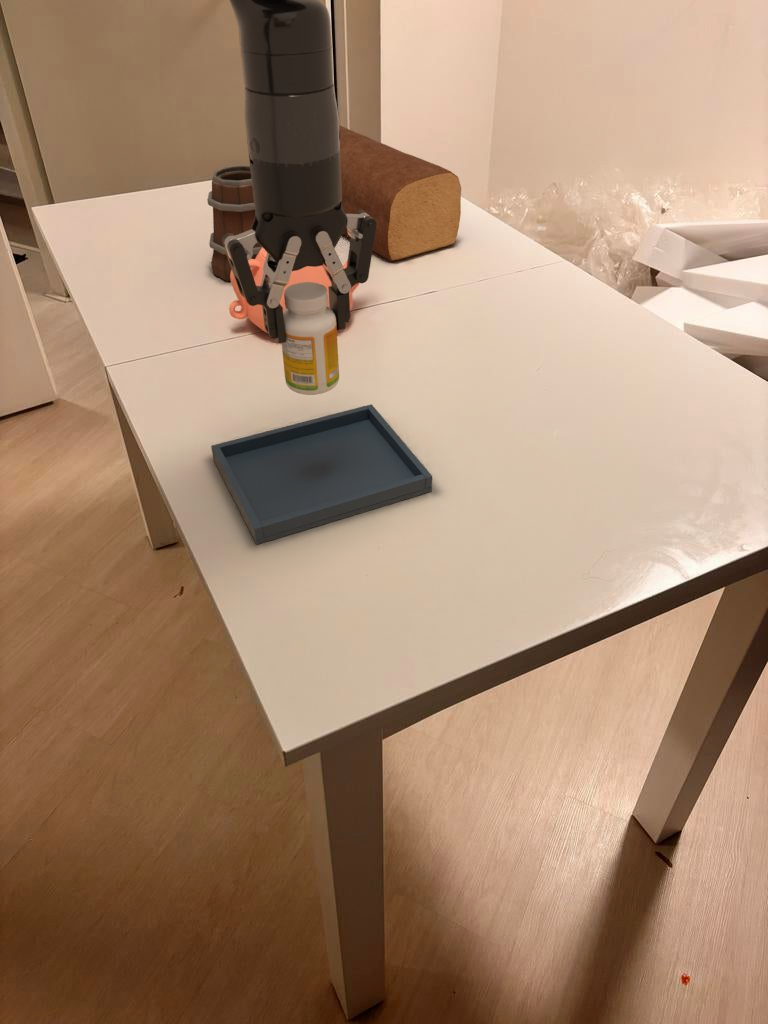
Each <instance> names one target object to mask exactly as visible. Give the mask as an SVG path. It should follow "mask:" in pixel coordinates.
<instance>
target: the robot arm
mask: <svg viewBox="0 0 768 1024" xmlns="http://www.w3.org/2000/svg"><path fill="white" fill-rule="evenodd" d="M229 3H230V6H231V8H232V11H233V14H234V16H235V21H236V23H237V27H238V36H239V37H238V38H239V39H238V40H239V49H240V58H241V67H242V78H243V85H244V121H245V133H246V143H247V151H248V161H249V166H250V170H251V179H252V188H253V197H254V206H255V219H254V222H253V225H252V229H251V230H249V231H246V232H243V233H241V234H238V235H235V236H234V235H233V234H231V233H227V234H225V235H224V236H223V238H222V243H223V246H224V249H225V251H226V254H227V257H228V260H229V263H230V266H231V269H232V272H233V275H234V277H235V280H236V283H237V286H238V289H239V292H240V293H241V295H242V296H243V297H244V298H245V299H246V301H247V303H248V304H249V305H251V306H255V305H257V304H258V305H262V309H263V317H264V326H265V330H266V331H267V333H266V334H268V336H269V337H270V338H271V339H272V340H274V341H275V343H276V344H278V345H279V344H282V343H284V342H286V338H285V327H284V317H283V307H282V306H281V305H280V304H279V303H280V300H281V297H282V293H283V290H284V287H285V286H286V285H287V284H288V282H289V278H290V275H291V272H292V271H296V270H300V269H302V268H304V267H306V266H312V267H317V266H322V267H323V268H324V270H325V272H326V274H327V276H328V278H329V280H330V282H331V284H332V286H329V287H328V289H329V306H330V309H331V310H332V311H333V312H334V314H335V316H336V325H337V331H341V330H345V329H346V324H347V323H349V322H350V319H351V311H350V299H349V292H350V289H351V288H352V287H353V286H354V285H356V284H357V283H359V284H364V283H366V282H367V281H368V280H369V275H370V269H371V263H372V258H373V257H372V256H373V245H374V238H375V232H376V226H377V223H376V221H375V220H374V219H373V218H372V217H370V216H369V215H368V214H367V213H365V212H364V211H363V210H358V211H357V212H356V213H355V214H345V212H344V210H343V208H342V204H341V203H342V186H341V162H340V140H341V133H340V129H339V125H340V121H339V120H340V119H339V111H338V104H337V97H336V92H335V91H336V90H335V83H334V82H335V79H334V77H335V76H334V54H333V53H334V52H333V36H332V34H333V33H332V23H331V17H330V12H329V9H328V7H327V6H326V4H325V3H324V2H323V1H322V0H229ZM346 227H347V232H348V235H349V236H350V237H351V239H349V240H350V241H349V248H348V255H347V260H348V261H347V260H346V262H347V268H345V269H344V267H343V266H344V264H343V263H342V261H341V259H340V257H339V255H338V253H337V250H336V247H337V246H338V243H339V241H340V239H341V238H342V236H343V233H344V231H345V229H346ZM256 243H259V244H260V245H261V246H262V247H263V248H264V250H265V251H266V252H267V255H266V259H265V262H264V266H263V271H264V274H263V278H262V281H261V285H260V286H256V284H255V281H254V278H253V275H252V272H251V269H250V265H249V262H248V260H250V259H251V258H252V256H253V247H254V245H255V244H256Z"/></svg>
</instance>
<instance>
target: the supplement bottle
mask: <svg viewBox="0 0 768 1024" xmlns="http://www.w3.org/2000/svg"><path fill="white" fill-rule="evenodd" d="M284 299H285V306H286V308H287V309H285V310H284V311H283V317H284V327H285V338H286V342H284V343H281V350H282V351H281V352H282V361H283V370H284V371H283V373H284V381H285V384H286V386H287V388H288V389H289V390H291V391H292V392H294V393H297V394H299V395H306V396H318V395H321V394H325V393H328V392H329V391H331V390H333V389H334V388H336V386H337V385H338V384H339V382H340V366H339V365H340V363H339V350H338V349H339V348H338V347H339V346H338V330H337V325H336V316H335V314H334V312H333V311H332V310H331V309H330V308H329V307H327V305H328V295H327V289H326V287H325V286H323V285H321V284H318V283H313V282H303V283H297V284H293V285H291V286H289V287H288V288H286V289H285V291H284Z"/></svg>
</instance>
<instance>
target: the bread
mask: <svg viewBox="0 0 768 1024" xmlns="http://www.w3.org/2000/svg"><path fill="white" fill-rule="evenodd" d="M339 129H340V133H341V140H340V162H341V186H342V203H341V204H342V208H343V210H344V212H345V214H355V213H356V212H357V211H358V210H363V211H364V212H365V213H367V214H368V215H369V216H370V217H372V218H373V219H374V220H375V221H376V223H377V226H376V232H375V238H374V245H373V251H372V253H375V254H377V255H379V256H381V257H382V258H384V259H386V260H387V261H390V262H393V261H401V260H404V259H406V258H407V259H408V258H411V257H414V256H418V255H421V254H424V253H428V252H431V251H432V252H433V251H435V250H438V249H442V248H446V247H449V246H451V245H454V244H456V241H457V237H458V233H459V228H460V223H461V213H462V211H461V209H462V208H461V207H462V204H461V203H462V202H461V201H462V200H461V199H462V186H461V181H460V178H459V176H457V175H456V174H455V173H453V172H452V171H451V170H448V169H446V168H445V167H443V166H441V165H438V164H436V163H433V162H430V161H427V160H425V159H423V158H420V157H418V156H415V155H412V154H409V153H406V152H403V151H401V150H398V149H397V148H394V147H392V146H390V145H387V144H385V143H382V142H380V141H377V140H374V139H372V138H370V137H369V136H367V135H364V134H361V133H358V132H356V131H354V130H352V129H349V128H347V127H344V126H342V125H340V124H339ZM343 235H344V236H345V237H346V238H348V239H349V240H351V237H350V236H349V235H348V232H347V227H346V229H345V231H344V233H343V234H342V236H343Z"/></svg>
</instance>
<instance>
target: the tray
mask: <svg viewBox="0 0 768 1024" xmlns="http://www.w3.org/2000/svg"><path fill="white" fill-rule="evenodd" d="M210 446H211V447H210V449H211V453H212V454H211V455H212V458H213V462H214V464H215V466H216V468H217V470H218V472H219V474H220V476H221V478H222V480H223V482H224V484H225V486H226V488H227V490H228V491H229V493H230V496H231V497H232V499H233V501H234V503H235V504H236V507H237V509H238V511H239V513H240V515H241V517H242V519H243V521H244V523H245V525H246V526H247V528H248V531H249V532H250V534H251V536H252V538H253V541H254V543H255V544H256V545H260V544H264V543H267V542H270V541H273V540H274V541H275V540H276V539H280V538H283V537H286V536H290V535H293V534H296V533H300V532H303V531H306V530H309V529H313V528H317V527H319V526H323V525H327V524H329V523H332V522H336V521H339V520H342V519H346V518H349V517H352V516H356V515H359V514H362V513H365V512H369V511H372V510H375V509H378V508H382V507H385V506H388V505H392V504H394V503H398V502H401V501H405V500H408V499H411V498H416V497H418V496H421V495H424V494H427V493H431V492H433V475H432V474H431V472H430V471H429V470H428V468H426V467H425V466H424V464H423V463H422V462H421V461H420V459H419V458H418V457H417V456H416V455H415V454H414V452H413V451H412V449H410V448H409V447H408V445H407V444H406V443H405V442H404V440H402V438H401V437H400V436H399V435H398V433H397V432H396V431H395V430H394V428H392V426H391V425H390V424H389V423H388V422H387V420H386V419H385V418H384V417H383V416H382V415H381V414H380V412H379V411H378V410H377V409H376V407H374V405H373V404H372V403H371V404H367V405H362V406H359V407H355V408H351V409H347V410H344V411H339V412H336V413H332V414H331V413H330V414H328V415H324V416H321V417H316V418H312V419H309V420H305V421H301V422H297V423H294V424H290V425H286V426H281V427H277V428H274V429H270V430H266V431H263V432H259V433H254V434H251V435H247V436H243V437H239V438H235V439H231V440H227V441H223V442H220V443H216V444H212V445H210Z"/></svg>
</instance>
